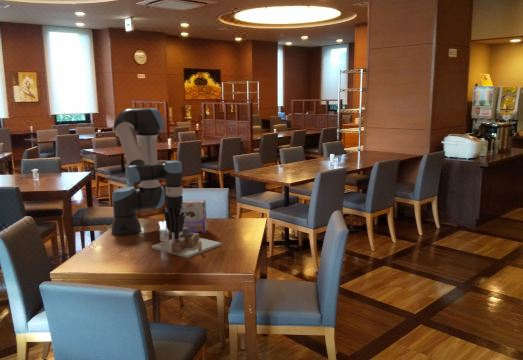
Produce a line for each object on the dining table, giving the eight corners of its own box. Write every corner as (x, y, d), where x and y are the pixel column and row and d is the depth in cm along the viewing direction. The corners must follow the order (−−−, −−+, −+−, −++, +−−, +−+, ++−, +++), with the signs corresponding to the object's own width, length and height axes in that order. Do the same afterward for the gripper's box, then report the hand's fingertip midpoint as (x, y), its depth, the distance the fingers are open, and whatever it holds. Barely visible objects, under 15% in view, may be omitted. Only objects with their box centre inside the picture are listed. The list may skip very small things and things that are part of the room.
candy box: (207, 230, 247) (206, 199, 244) (205, 233, 241) (203, 202, 238) (182, 229, 248) (180, 199, 245) (179, 232, 242) (177, 202, 239)
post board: (151, 248, 218) (150, 229, 216) (186, 236, 235) (185, 219, 234) (188, 258, 203) (187, 238, 202) (222, 245, 220) (221, 227, 219)
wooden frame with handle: (181, 240, 224) (181, 232, 224) (199, 241, 222) (198, 233, 222) (165, 252, 207) (164, 243, 206) (184, 253, 205) (184, 244, 204)
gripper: (157, 194, 208) (159, 245, 213) (178, 198, 202) (179, 250, 206) (169, 192, 215) (170, 241, 219) (190, 195, 208) (191, 245, 212)
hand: (175, 245), depth 212 cm, fingers closed
